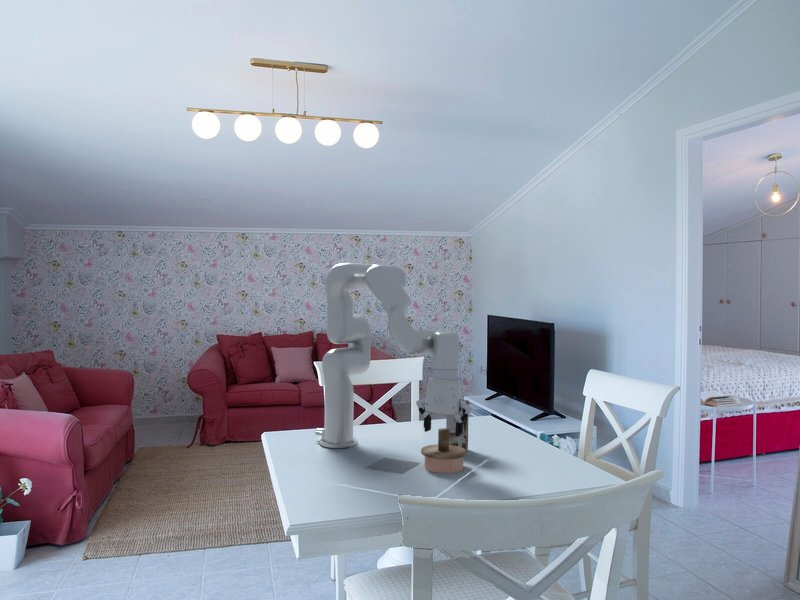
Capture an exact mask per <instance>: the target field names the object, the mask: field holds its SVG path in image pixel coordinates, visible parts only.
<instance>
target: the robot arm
mask: <svg viewBox="0 0 800 600" xmlns="http://www.w3.org/2000/svg"><path fill="white" fill-rule="evenodd" d="M406 283H407V277H406V273H405V271H404V270H403V268H401V267H400V266H398V265H394V264H393V265H391V264H374V263H372V264H371V263H357V262H341V263H338V264H335V265H334V266H332V267H331V268H330V269H329V271H328V272H327V274H326V277H325V283H324V285H325V287H324V288H325V295H326V336H327V339H328V341H329V342H330V343H332V344H334V345H335V344H336V345H344V344H345V345H346V344H347V347H340V348H339V347H338V348H333V349H330V350H328V351H326V353H325V354H324V356H323V357H322V361H321V369H322V374H323V379H324V424H323V425H324V428H319V427H317V428H316V430H315V436H321V438H320V439H319V445H320V446H322V447H324V448H330V449H347V448H351V447H354V446H356V445H358V444H359V439H357V438H356V437H354V403H355V402H354V401H355V400H354V399H355V395H354V394H355V390H354V386H353V383H352V380H351V379H350V377H351V376H358V375H362V374H364V373H366V372H367V371H368V369H370V368H369V367H370V365H371V355H372V354H371V350H372V349H371V346H372V343H371V340H372V338H371V337H372V336H371V335H372V333H371V332H372V331H371V325H370V322H369V321H368V320H367V318H366V317H364V316H363V315H361V314H354V311H353V310H354V309H353V308H354V303H353V302H354V301H353V299H352V296H351V293H350V292H349V290H370V291H371V293H372V295H373V296H374V297H375V299H376V300H377V301H378V303H379V304H380V305H381V307H382V308H383V309H384V311H385V312H386V321H387V322H386V323H387V329H388V332H389V334H390V337H391V338H392V339H393V341H394V342H395V343H396V345H397V346H398V348H399V349H400V350H401V351H402V352H403V353H404V354H406V355H407V356H411V357H415V356H422V355H432V359H431V360H432V361H431V362H432V363H431V368H428V369H427V373H428V374H430V375H431V377H429V378H428V381H427V386H426V390H425V391H426V392H425V397H423V398H421V399H419V400H416V401H415V403H416V407H417V409H418V412H419V414H421V416H422V418H423V428H424V432H428V431H431V430H432V416H431V414H434V415H442V416H447V415H448V416H454V417H455V418H456V420H457V423H456V430H455V436H457V437H458V436H460V435H461V434H462V433H463V421H465V420H466V419H467V418H468V419H469V417H470V415H471V414H472V411H473V410H474V408H473V406H471V405H468V404H466V403H465V402H463V401H462V400H463V393H462V385H461V380H460V379H458V378H459V355H460V354H459V353H460V335H459V334H458V333H457V332H454V331H448V330H447V331H445V330H444V331H442V330H438V329H434V328H419V329H418V328H417V329H415V328H414V327H413V326H412V325H411V323H410V322H409V320H408V319H407V317H406V315H405V311H406V310H407V309H408V308H409V306H410V304H411V301H412V299H411V297H410V296H409V295H408V293H407V292H406V291H405V289H404V287H405V286H406ZM423 404H424V405H423ZM462 407H463V408H464V409H465V410H466V412H465V414H464V415H462V413H461V411H462Z"/></svg>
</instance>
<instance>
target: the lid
mask: <svg viewBox="0 0 800 600" xmlns="http://www.w3.org/2000/svg"><path fill="white" fill-rule="evenodd" d="M437 432H438V433H437V434H438V435H437V437H438V439H437V444H429V445H425V446H422V447H421V449H420V454H421V455H422V456H427V457H430V458H436V459H456V458H461V457H466V455H467V453H466V450H465V449H464V448H462V447H459V446H454V445H449V429H446V427H445V428H441V427H440V428H438V431H437Z"/></svg>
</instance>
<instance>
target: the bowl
mask: <svg viewBox="0 0 800 600" xmlns="http://www.w3.org/2000/svg"><path fill="white" fill-rule="evenodd" d="M423 456H424V455H423ZM464 457H465V456H464ZM464 457H461V458H456V459H436V458H430V457H427V456H424V458H423V459H424V461H423V462H424V465H423V466H424V469H425V470H428V471H430V472H433V473H439V474H452V473H453V474H454V473H458V472H461V471H462V470H464Z"/></svg>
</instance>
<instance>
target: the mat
mask: <svg viewBox="0 0 800 600" xmlns="http://www.w3.org/2000/svg"><path fill="white" fill-rule="evenodd" d="M420 464H421V463H420V462H417V461H415V462H414V461H408V460H403V459H402V460H401V459H396V458H389V457H382V458H381V459H379V460H377V461H375V462H373V463H370V464H369V465H367V466H365V467H364V468H365V469H369V470H376V471H382V472H387V473H393V474H399V475H403V474H405V473H406V472H408V471H410V470H411V469H413V468H415V467H417V466H418V465H420Z"/></svg>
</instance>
